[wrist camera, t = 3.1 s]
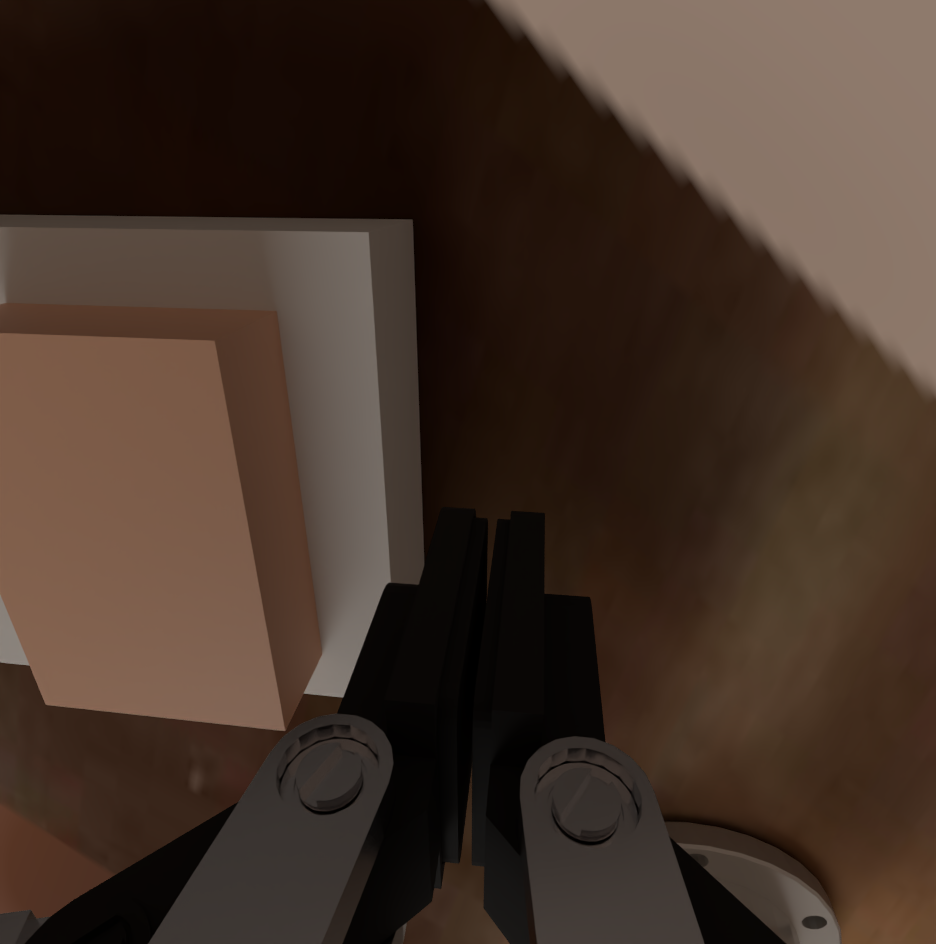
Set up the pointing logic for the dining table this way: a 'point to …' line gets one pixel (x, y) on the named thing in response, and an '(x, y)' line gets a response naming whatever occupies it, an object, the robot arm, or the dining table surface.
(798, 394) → the dining table surface
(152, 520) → the salmon rectangular block
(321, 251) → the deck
